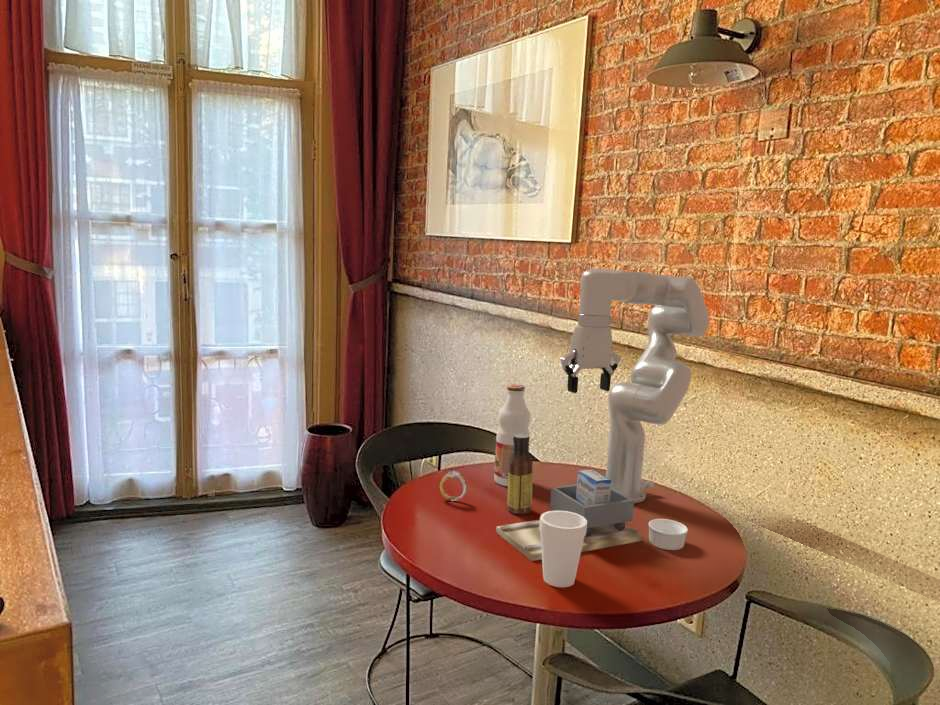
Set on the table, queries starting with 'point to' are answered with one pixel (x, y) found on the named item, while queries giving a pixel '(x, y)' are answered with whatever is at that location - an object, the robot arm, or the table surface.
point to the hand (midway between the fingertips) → (588, 390)
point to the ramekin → (667, 534)
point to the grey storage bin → (594, 508)
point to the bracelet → (447, 476)
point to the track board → (529, 541)
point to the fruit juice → (510, 430)
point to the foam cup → (561, 546)
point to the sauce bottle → (520, 476)
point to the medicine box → (592, 488)
